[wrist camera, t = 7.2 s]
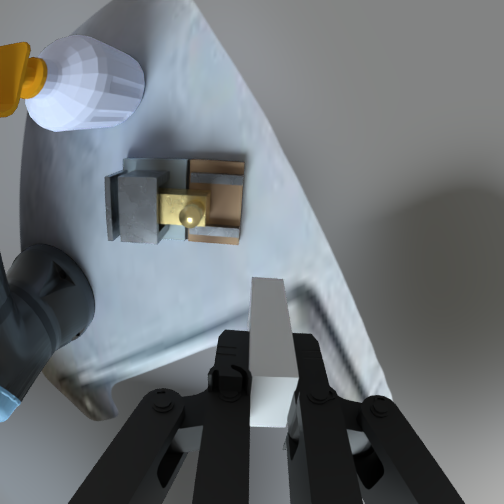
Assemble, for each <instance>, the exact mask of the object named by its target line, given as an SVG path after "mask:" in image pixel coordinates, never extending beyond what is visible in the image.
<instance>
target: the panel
mask: <svg viewBox="0 0 504 504" xmlns="http://www.w3.org/2000/svg"><path fill="white" fill-rule="evenodd" d="M244 165H245V162H238V161H223V160H204V159H177V158H126V159H123V170H128V173H129V172H131V171H134V170H165V171H170V180H169V181H167V182H165V183H164V184H162V185H161V186H159V187H158V188H176V189H196V190H211V195H210V218H209V220H208V222H207V224H220V225H233V226H240V219H241V205H242V192H243V185H242V186H240V185H225V184H210V183H191V182H190V181H191V172H212V173H228V174H243V178H244ZM239 233H240V229H239ZM162 239H167V240H180V241H185V240H186V239H188V241H193V242H206V243H219V244H232V245H238V244H239V238H234V237H221V236H208V235H194V234H189V228H186V227H184V226H183V225H172V224H169V231H168V232H167V233H166V234H165V236H164V237H163V238H162Z"/></svg>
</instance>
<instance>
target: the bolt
mask: <svg viewBox="0 0 504 504" xmlns="http://www.w3.org/2000/svg"><path fill="white" fill-rule="evenodd" d="M210 195H211V190H196V189H176V188H158V215H159V224H172V225H183V226H184V227H186V228H194V227H196V226H201V227H205V226H206V224H207V222H208V220H209V218H210Z"/></svg>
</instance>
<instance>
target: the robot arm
mask: <svg viewBox="0 0 504 504" xmlns="http://www.w3.org/2000/svg"><path fill="white" fill-rule="evenodd" d="M94 310H95V305H94V298H93V294H92V290H91V288H90V285H89V283H88V281H87V279H86V277H85V276H84V274H83V272H82V271H81V270H80V268H79V267H78V266H77V264H76V263H75V262H74V261H73V260H72V259H71V258H70V257H69V256H67V255H66V254H65V253H63V252H62V251H60V250H59V249H57V248H55V247H52V246H49V245H44V244H38V245H33V246H31V247H29V248H27V249H26V250H24V251H23V252H22V253H20V254H19V255H18V256H17V257H16V258H15V260H14V262H13V264H12V266H11V267H10V269H9V270H8V272H7V274H6V273H5V270H4V266H3V262H2V257H1V253H0V422H4V421H5V420H7V419H8V418H9V417H10V415H11V414H12V412H13V411H14V410H15V409H16V407H17V406H19V405H20V404H21V402H22V400H23V398H24V397H25V395H26V394H27V392H28V390H29V389H30V387H31V386H32V384H33V383H34V381H35V379H36V378H37V376H38V375H39V374H40V372H41V371H42V369H43V368H44V366H45V365H46V363H47V362H48V360H49V359H50V357H51V356H52V355H53V353H54V352H55V351H56V350H58V349H59V348H61V347H63V346H65V345H66V344H68V343H70V342H71V341H73V340H75V339H77V338H79V337H80V336H81V335H82V334H83V333H84V332H85V331H86V329H87V328H88V326H89V325H90V323H91V322H92V320H93V316H94ZM287 420H288V433H287V436H286V440H285V443H284V447H283V450H286V448H287V457H288V458H287V459H288V473H289V487H290V503H291V504H363V501H362V498H363V500H364V502H365V504H465V503H464V501H463V500H462V498H461V497H460V496H459V494H458V493H457V491H456V490H455V488H454V487H453V485H452V484H451V482H450V481H449V479H448V478H447V476H446V475H445V474H444V472H443V471H442V469H441V468H440V466H439V465H438V463H437V462H436V461H435V459H434V458H433V456H432V455H431V453H430V452H429V451H428V449H427V448H426V446H425V445H424V443H423V442H422V441H421V439H420V438H419V436H418V435H417V434H416V432H415V431H414V429H413V428H412V427H411V425H410V424H409V422H408V421H407V420H406V418H405V417H404V415H403V414H402V413H401V411H400V410H399V408H398V407H397V406H396V404H395V403H394V402H393V401H392V400H391V399H389V398H387V397H385V396H380V395H374V396H370V397H368V398H366V399H365V400H364V401H363V402H362V403H359V402H354V401H350V400H346V399H343V398H341V397H339V396H338V395H337V393H336V391H335V390H334V389H333V388H331V387H330V386H329V382H328V378H327V374H326V370H325V366H324V362H323V359H322V354H321V352H320V347H319V343H318V341H317V340H316V339H315V337H314V336H313V335H312V334H304V333H292V330H291V323H290V317H289V311H288V305H287V299H286V293H285V287H284V281H283V279H273V278H259V277H252V282H251V293H250V305H249V316H248V331H237V330H224V331H223V333H222V334H221V335H220V336H219V338H218V344H217V351H216V357H215V364H214V366H213V367H212V368H211V369H210V371H209V373H208V388H207V389H206V390H205V391H204V392H202V393H199V394H197V395H193V396H185V397H181V396H180V395H179V393H177V392H175V391H173V390H170V389H164V388H162V389H155V390H153V391H150V392H149V393H148V394H147V395H145V396H144V397H143V399H142V400H141V402H140V403H139V404H138V406H137V407H136V409H135V410H134V411H133V413H132V414H131V416H130V417H129V418H128V420H127V421H126V423H125V424H124V426H123V427H122V428H121V430H120V431H119V432H118V434H117V435H116V437H115V438H114V439H113V441H112V442H111V444H110V445H109V447H108V448H107V449H106V451H105V452H104V453H103V455H102V456H101V458H100V459H99V460H98V462H97V463H96V465H95V466H94V467H93V469H92V470H91V472H90V473H89V475H88V476H87V477H86V479H85V480H84V482H83V483H82V484H81V486H80V487H79V489H78V490H77V491H76V493H75V494H74V496H73V497H72V498H71V500H70V501H69V503H68V504H162V503H163V501H164V499H165V497H166V495H167V493H168V491H169V489H170V487H171V486H172V484H173V482H174V479H175V478H176V476H177V474H178V472H179V470H180V468H181V466H182V464H183V462H184V460H185V458H186V456H187V454H188V452H190V451H197V450H199V458H198V464H197V472H196V479H195V486H194V494H193V501H192V504H249V449H250V426H256V427H286V423H287Z"/></svg>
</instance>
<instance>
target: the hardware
mask: <svg viewBox="0 0 504 504" xmlns="http://www.w3.org/2000/svg"><path fill="white" fill-rule="evenodd" d="M169 180H170V171H165V170H134V171H131V172H129V173H128V170H121V171H119V172H116V173H113V174H111V175H108V176H105V203H106V220H107V233H108V241H114V240H115V239H116V238H117V237H118V236H119V235H120V237H121V242H132V243H145V244H158V243H159V242H160V241H161V239H162V238H163V237H164V236H165V234H166V233H167V232H168V231H169V224H159V215H158V187H159V186H161V185H162V184H164V183H165V182H167V181H169ZM190 182H191V183H210V184H225V185H240V186H242V185H243V174H228V173H212V172H191V181H190ZM239 229H240V226H233V225H220V224H206V226H205V227H201V226H196V227H194V228H189V234H194V235H208V236H221V237H234V238H239Z"/></svg>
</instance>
